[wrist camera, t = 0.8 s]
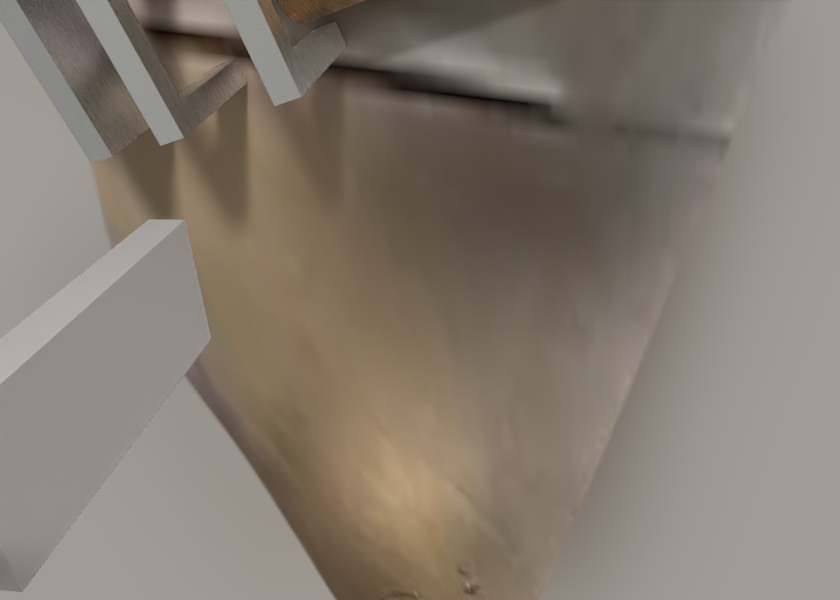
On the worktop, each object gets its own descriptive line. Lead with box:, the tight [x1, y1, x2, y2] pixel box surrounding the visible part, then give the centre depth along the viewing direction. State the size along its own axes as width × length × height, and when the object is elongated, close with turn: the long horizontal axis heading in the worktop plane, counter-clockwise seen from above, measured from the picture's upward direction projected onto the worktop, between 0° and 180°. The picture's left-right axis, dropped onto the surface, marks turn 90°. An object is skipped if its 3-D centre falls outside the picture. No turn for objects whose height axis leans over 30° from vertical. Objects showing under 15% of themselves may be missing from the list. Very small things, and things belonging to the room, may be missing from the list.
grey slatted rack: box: [0, 0, 347, 164], centre depth 30 cm, size 11×9×7 cm
